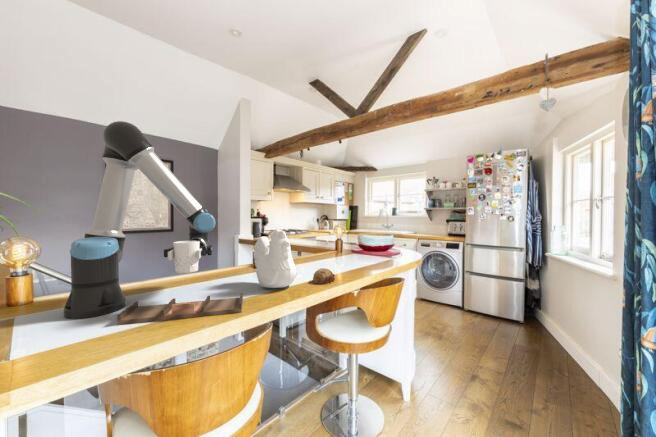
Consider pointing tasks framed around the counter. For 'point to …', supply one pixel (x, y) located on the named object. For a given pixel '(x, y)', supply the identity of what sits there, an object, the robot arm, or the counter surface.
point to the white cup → (186, 256)
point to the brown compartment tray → (179, 310)
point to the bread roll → (323, 276)
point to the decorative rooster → (274, 260)
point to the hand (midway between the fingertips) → (183, 255)
